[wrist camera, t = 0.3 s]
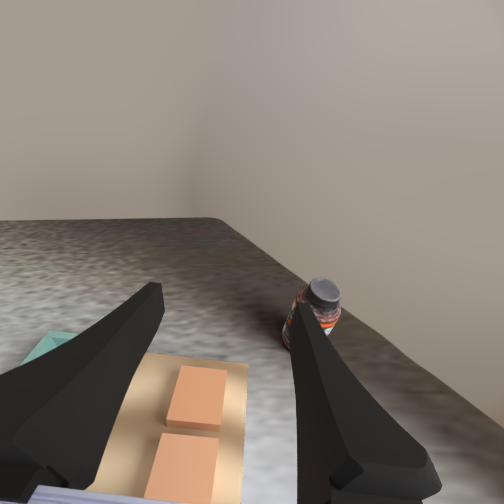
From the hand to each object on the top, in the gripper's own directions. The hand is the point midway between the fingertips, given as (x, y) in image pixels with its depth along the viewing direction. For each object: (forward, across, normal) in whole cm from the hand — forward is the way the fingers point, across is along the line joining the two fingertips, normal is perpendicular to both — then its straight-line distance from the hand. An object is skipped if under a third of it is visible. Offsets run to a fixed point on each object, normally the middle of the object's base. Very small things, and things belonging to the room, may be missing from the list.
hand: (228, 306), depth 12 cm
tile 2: (-3, +2, +17) cm, 18 cm away
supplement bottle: (+14, -10, +20) cm, 27 cm away
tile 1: (+3, +2, +17) cm, 17 cm away
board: (0, +4, +20) cm, 21 cm away
